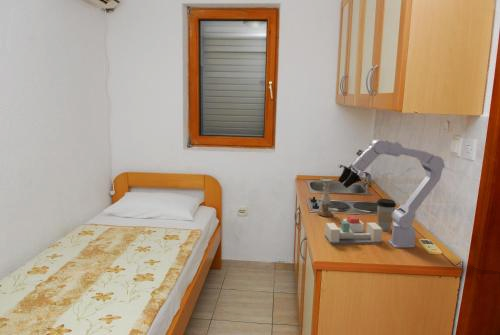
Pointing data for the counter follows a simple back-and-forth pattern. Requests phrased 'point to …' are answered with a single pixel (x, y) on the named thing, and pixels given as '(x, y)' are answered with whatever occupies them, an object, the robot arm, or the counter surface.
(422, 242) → the counter surface
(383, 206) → the coffee cup
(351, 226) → the box
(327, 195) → the candle holder
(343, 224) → the carriage
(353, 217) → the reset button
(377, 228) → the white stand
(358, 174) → the robot arm
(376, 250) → the counter surface
